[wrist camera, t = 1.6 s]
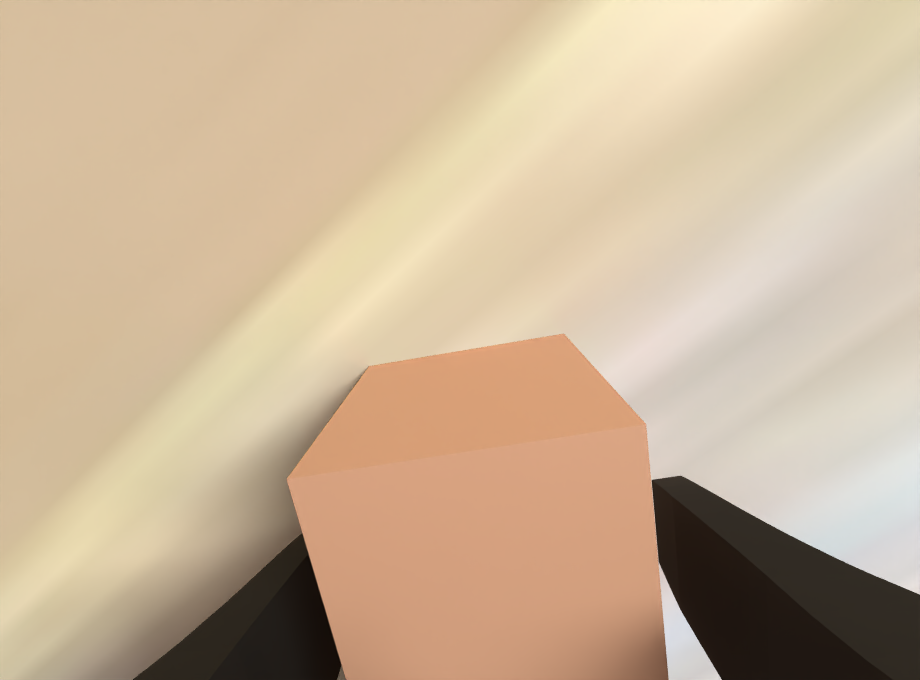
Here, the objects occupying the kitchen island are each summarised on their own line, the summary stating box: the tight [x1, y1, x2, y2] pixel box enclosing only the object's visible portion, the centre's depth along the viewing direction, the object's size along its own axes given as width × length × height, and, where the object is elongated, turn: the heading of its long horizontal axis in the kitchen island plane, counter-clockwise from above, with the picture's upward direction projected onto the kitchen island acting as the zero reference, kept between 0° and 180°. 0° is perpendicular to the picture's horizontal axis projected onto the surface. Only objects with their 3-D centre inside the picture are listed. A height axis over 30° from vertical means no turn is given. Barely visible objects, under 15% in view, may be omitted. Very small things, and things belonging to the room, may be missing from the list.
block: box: [287, 334, 668, 680], centre depth 9 cm, size 4×8×5 cm, turn 10°
